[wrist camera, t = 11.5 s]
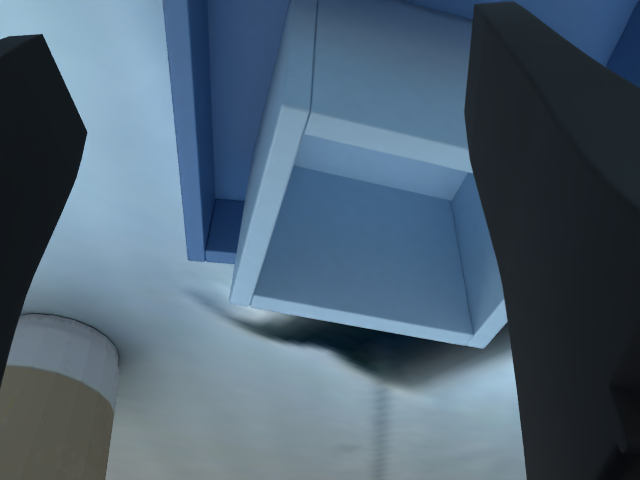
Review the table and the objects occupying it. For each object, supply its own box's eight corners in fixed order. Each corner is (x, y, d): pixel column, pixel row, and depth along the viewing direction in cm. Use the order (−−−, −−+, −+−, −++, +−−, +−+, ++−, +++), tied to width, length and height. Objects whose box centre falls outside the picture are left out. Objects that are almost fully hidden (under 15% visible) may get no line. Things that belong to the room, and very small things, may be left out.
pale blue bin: (250, 162, 24) (228, 304, 20) (297, -30, 19) (281, 104, 14) (458, 209, 26) (483, 349, 21) (560, 44, 20) (626, 187, 16)
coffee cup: (-87, 291, 32) (-285, 620, 22) (122, 287, 31) (17, 625, 21) (8, 396, 41) (-104, 669, 30) (175, 394, 40) (118, 674, 30)
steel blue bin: (201, 200, 27) (187, 261, 24) (178, -148, 17) (151, -103, 14) (533, 229, 28) (551, 291, 25) (696, -86, 18) (751, -35, 15)
